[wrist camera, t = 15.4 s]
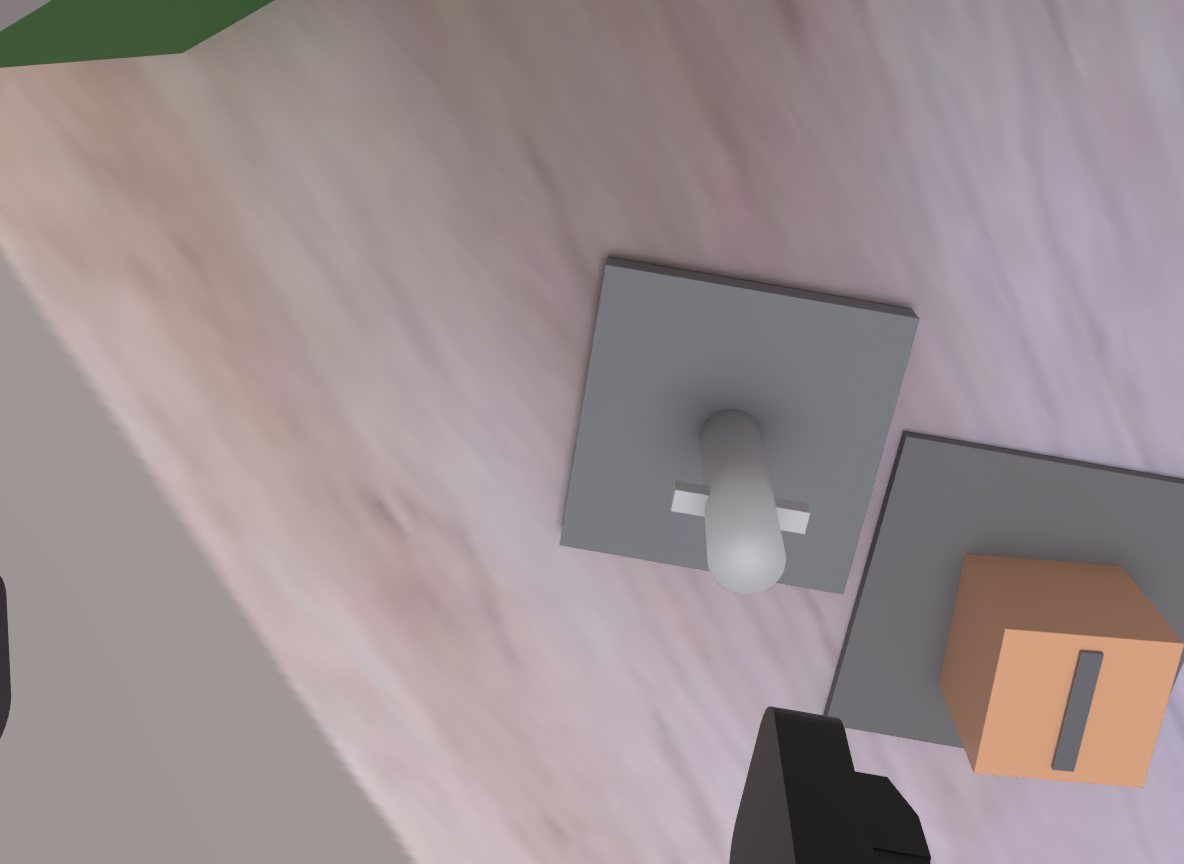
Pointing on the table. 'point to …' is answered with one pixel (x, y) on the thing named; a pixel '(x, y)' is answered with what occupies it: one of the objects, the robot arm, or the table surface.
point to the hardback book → (110, 28)
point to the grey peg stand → (733, 425)
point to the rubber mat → (994, 528)
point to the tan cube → (1057, 670)
